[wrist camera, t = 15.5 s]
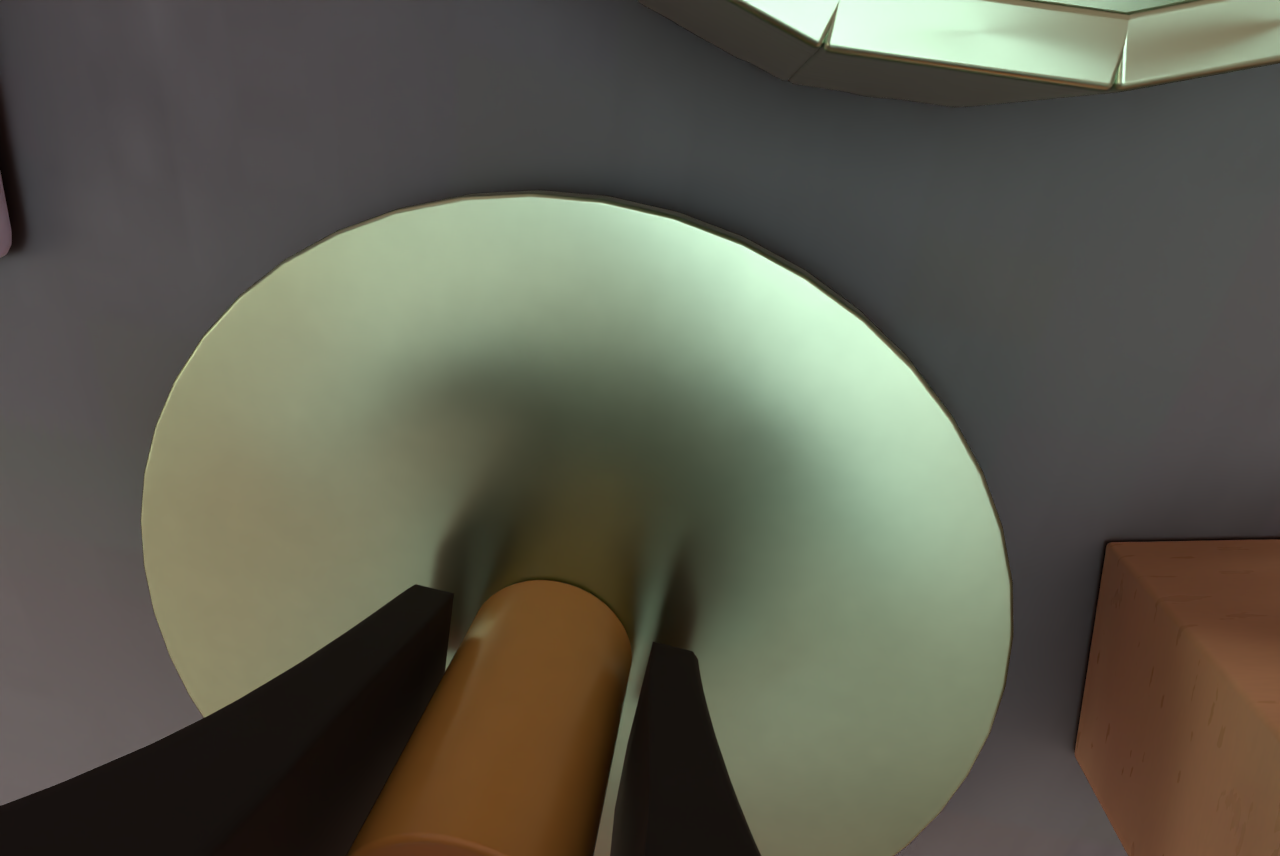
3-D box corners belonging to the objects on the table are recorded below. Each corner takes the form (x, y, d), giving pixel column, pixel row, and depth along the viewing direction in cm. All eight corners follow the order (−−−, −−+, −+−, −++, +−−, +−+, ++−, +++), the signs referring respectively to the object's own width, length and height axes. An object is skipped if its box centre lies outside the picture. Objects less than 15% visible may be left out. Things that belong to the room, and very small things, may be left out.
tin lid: (220, 809, 16) (-31, 1137, 11) (140, 116, 10) (-437, 105, 5) (865, 949, 15) (930, 1378, 10) (1134, 273, 10) (1587, 437, 5)
